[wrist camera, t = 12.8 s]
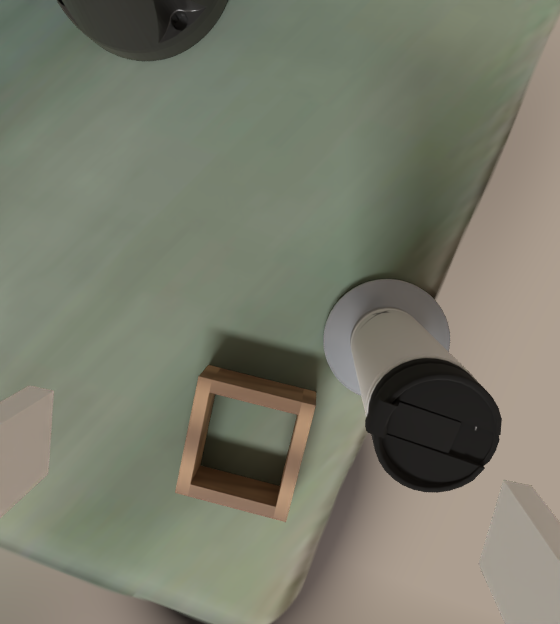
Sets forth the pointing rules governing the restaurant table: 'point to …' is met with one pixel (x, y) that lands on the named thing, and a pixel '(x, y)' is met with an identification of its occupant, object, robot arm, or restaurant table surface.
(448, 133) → the restaurant table surface
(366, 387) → the travel mug
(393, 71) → the restaurant table surface
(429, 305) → the grey round disc
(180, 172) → the restaurant table surface
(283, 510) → the brown open square frame
